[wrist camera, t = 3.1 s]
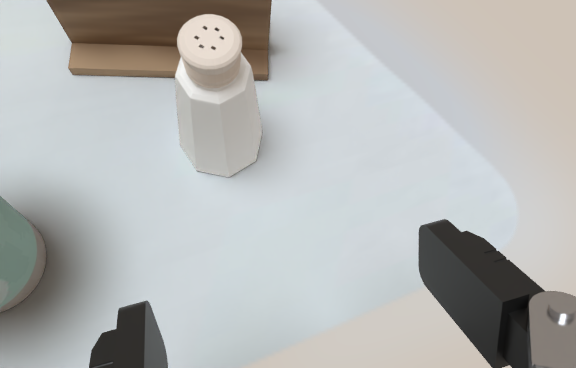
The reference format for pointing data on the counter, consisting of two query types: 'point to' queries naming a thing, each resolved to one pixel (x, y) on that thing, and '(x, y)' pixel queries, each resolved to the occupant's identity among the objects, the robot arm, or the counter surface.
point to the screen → (152, 33)
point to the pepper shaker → (216, 97)
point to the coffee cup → (18, 257)
